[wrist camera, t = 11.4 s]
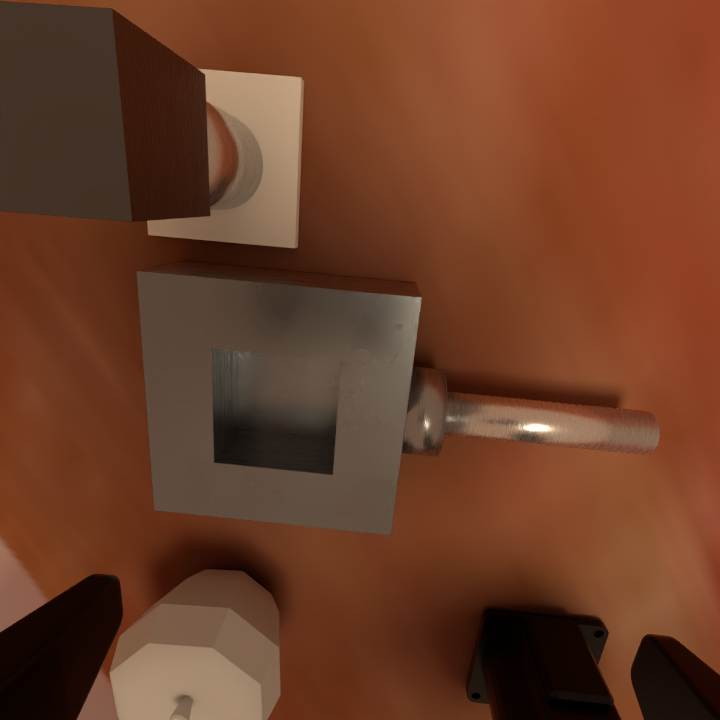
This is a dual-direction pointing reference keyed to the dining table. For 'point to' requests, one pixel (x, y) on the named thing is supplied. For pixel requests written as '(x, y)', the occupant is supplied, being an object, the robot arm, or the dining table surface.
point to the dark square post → (111, 122)
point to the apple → (201, 653)
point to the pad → (280, 162)
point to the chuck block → (315, 397)
